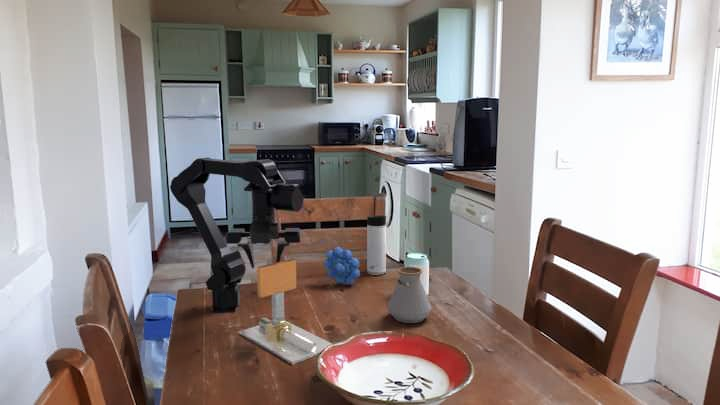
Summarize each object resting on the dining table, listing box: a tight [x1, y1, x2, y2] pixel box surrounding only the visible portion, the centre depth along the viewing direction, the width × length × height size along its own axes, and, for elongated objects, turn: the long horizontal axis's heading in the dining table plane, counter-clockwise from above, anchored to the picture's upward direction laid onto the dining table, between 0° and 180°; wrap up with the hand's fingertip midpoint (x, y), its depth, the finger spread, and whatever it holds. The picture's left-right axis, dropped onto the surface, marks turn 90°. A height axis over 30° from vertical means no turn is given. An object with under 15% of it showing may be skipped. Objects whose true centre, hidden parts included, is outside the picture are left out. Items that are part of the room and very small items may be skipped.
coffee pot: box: [387, 266, 432, 324], centre depth 132 cm, size 21×12×15 cm, turn 165°
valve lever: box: [256, 258, 297, 325], centre depth 125 cm, size 2×10×15 cm, turn 132°
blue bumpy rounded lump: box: [323, 246, 361, 285], centre depth 163 cm, size 12×7×12 cm, turn 78°
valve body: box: [239, 317, 333, 365], centre depth 124 cm, size 22×12×3 cm, turn 43°
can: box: [404, 252, 430, 296], centre depth 155 cm, size 7×7×12 cm
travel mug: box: [366, 214, 387, 275], centre depth 175 cm, size 6×7×20 cm
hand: (265, 267), depth 138 cm, fingers open, 6 cm apart
